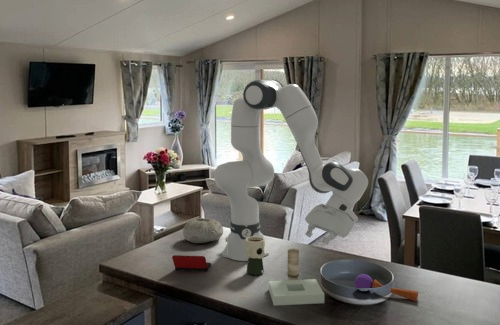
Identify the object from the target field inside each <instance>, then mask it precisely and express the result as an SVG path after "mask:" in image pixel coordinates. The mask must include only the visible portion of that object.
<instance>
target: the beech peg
mask: <svg viewBox="0 0 500 325" xmlns="http://www.w3.org/2000/svg"><path fill="white" fill-rule="evenodd" d="M299 256H300V250H299V249H298V248H289V249H287V272H286V273H287V275H286V276H287V280H299V276H300V274H299V272H300V271H299V269H300V267H299V266H300V263H299V261H300V260H299V259H300V257H299Z"/></svg>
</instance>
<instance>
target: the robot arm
mask: <svg viewBox="0 0 500 325" xmlns="http://www.w3.org/2000/svg"><path fill="white" fill-rule="evenodd" d="M242 95H243V96H240V97H238V98H236V99H235V100H234V102H233V105H232V110H231V120H230V125H231V126H230V143H231V146H232V147H233V149H234V150H236V151H238V152H240V153H241V156H242V160H238V161H237V160H236V161H228V162H225V163H224V162H223V163H222V164H219V165H217V167H216V168H215V170H214V173H213V177H214V178H213V179H214V182H215V184H216V186H217V187H218V188H219V189H220V190H222V191H223V192H224V193H225V194H226V196H227V198H228V200H229V203H230V204H229V205H230V213H231V214H230V215H231V218H230V219H231V221H230V226H229V227H230V233H229V234H228V235H227V236H225V242H226V243H227V244H226V245H225V246H224V247H225V248H224V250H223V252H222V254H221V257H224V258H227V259H231V260H233V261H237V262H248V259H249V257H247V256H246V248H245V239H246V238H247V237H252V236H259V237H263V238H264V239H265V236H264V234H263V232H261V221H260V204H259V203H258V202H259V201H258V200H257V199H256V198H254V197H252V196H249V193H248V188H249V189H250V188H257V187H262V186H264V185H267V184H270V183H271V182H272V181H273V179H274V177H275V169H274V165H273V164H272V162H270V160H269V159H267V158H266V156H265V155H264V154H263V151H262V148H261V147H262V146H261V143H260V142H261V140H260V138H261V137H260V118H261V113H262V111H263V110H265V111H266V110H268V109H272V108H276V109H278V110H279V111H280V113H281V114H282V116H283V119H284V120H285V123H286V124H287V126H288V129H289V130H290V132H291V133H292V136H293V138H294V141H295V142H296V145H297V147H298V151H300V154H301V158H302V159H303V161H304V164H305V166H306V168H307V171H308V178H309V184H310V186H311V188H312V189H313V190H314V191H315V192H316V193H318V194H319V193H320V194H327V193H330V192H331V193H332V194H331V196H330V197H329V199H328V200H327V202H326V203H325V204H324V203H320V204H318V205H316V206H314V207H313V208H312V209H311V210H310V211H309V212H308V213H307V215H305V217H304V220H305V223H306V224H308V226H307V231H306V232H305V233H304V234H305V236H306V237H308V238H312V236H313V231H314V230H315V229H318V230H321V231H324V232H326V233H328V235H327V236H326V237H325V236H324V237H323V239H322V240H321V241H322V243H323V244H325V245H328V244H330V242H331V241H333V240H334V239H336V238H337V237H340V238H342V239H344V238H346V237H348V235H349V234H350V232H352V230H353V228H354V226H355V223H357V222H358V220H359V217H358V215H356V213H355V212H354V211H353V209H354V207H355V204H356V203H357V202H358V201H360V199H361V198H362V196H363V195H364V193H365V191H366V190H367V188H368V185H369V179H368V176H367V175H366V174H365V172H364V171H362V170H361V169H358V168H350V167H347V166H345V165H343V164H341V163H340V162H337V161H330V162H328V163H324V161H323V160H322V157H321V155H320V153H319V149H318V148H317V147H316V142H315V141H316V140H315V139H316V132H317V130H318V127H319V120H318V116H317V113H316V111H315V108H314V107H313V106H312V105H313V104H312V103H311V101H310V100H309V98H308V96H307V95H306V94H305V92H304V91H303V89H302V88H301V87H300V86H299V85H298V84H295V83H289V84H286V85H284V84H283V83H281V82H280V81H279V80H277V79H270V78H263V79H256V80H253V81H251V82H248V84H247V85H246V86H244V89H243V93H242ZM264 250H265V255H264V257H267V256H268V255H270V253H269V251H268V250H267V249H266V248H265V247H264Z"/></svg>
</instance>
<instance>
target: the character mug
mask: <svg viewBox="0 0 500 325" xmlns="http://www.w3.org/2000/svg"><path fill="white" fill-rule="evenodd" d="M265 247H266V240H265V237H264V238H263V237H259V236H252V237H247V238H246V239H245V248H246V256H247V257H249V259H248V261H247V265H246V273H248V274H250V275H254V276H259V275H262V274H263V273H264V271H265V270H264V262H263V258H264V257H265V256H264V255H265V250H264V248H265Z"/></svg>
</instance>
